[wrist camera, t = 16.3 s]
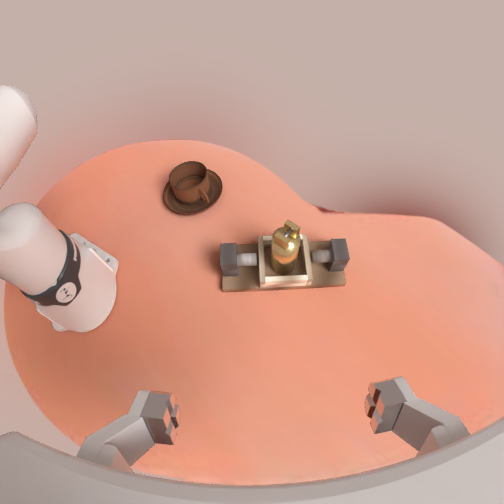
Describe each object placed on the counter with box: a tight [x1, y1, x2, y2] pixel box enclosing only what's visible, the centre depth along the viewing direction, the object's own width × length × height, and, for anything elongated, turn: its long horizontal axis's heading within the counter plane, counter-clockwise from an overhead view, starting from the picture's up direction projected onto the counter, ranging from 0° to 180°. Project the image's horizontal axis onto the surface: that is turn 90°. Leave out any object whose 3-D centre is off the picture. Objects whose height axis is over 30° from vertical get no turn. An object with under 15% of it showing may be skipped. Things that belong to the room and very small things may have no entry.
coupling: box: [271, 220, 301, 275], centre depth 42 cm, size 4×4×10 cm
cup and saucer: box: [163, 161, 222, 215], centre depth 54 cm, size 12×12×6 cm
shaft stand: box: [220, 234, 350, 292], centre depth 45 cm, size 20×8×6 cm, turn 92°
